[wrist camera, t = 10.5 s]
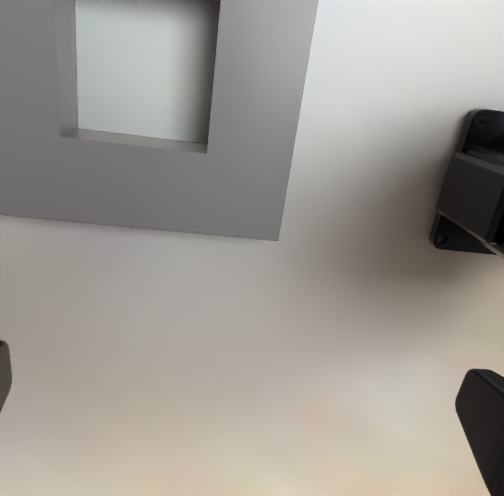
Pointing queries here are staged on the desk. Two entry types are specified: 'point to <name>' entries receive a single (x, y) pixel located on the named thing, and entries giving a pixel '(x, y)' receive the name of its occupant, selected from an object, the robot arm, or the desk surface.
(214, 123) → the frame
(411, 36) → the desk surface
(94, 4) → the desk surface
